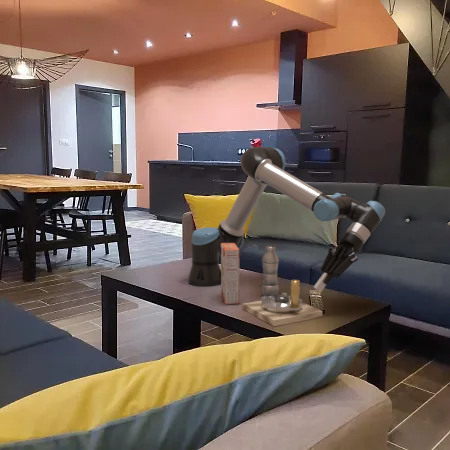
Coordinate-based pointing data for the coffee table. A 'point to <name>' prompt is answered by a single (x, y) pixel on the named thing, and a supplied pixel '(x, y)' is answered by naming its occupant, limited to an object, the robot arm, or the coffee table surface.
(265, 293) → the plastic bottle
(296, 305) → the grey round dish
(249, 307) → the nut board
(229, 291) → the cracker box
